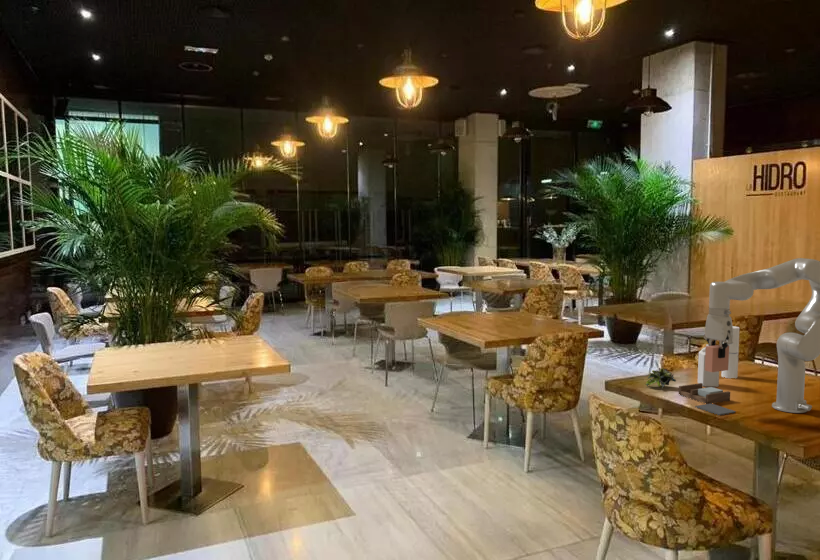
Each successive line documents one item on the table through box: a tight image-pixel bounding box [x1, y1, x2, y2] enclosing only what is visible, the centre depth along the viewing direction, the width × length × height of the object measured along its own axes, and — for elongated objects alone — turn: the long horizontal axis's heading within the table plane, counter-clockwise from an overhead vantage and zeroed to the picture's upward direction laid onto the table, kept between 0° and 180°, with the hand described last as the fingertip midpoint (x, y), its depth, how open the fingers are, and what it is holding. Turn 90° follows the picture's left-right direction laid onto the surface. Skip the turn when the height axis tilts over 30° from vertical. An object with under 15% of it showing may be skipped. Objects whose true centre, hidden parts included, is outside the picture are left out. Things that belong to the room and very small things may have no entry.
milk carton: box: [697, 343, 720, 388], centre depth 292 cm, size 7×7×19 cm
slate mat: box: [694, 403, 737, 416], centre depth 255 cm, size 12×9×1 cm
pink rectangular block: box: [705, 344, 729, 372], centre depth 253 cm, size 4×9×10 cm, turn 112°
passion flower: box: [645, 367, 677, 389], centre depth 289 cm, size 11×11×12 cm
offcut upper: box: [698, 386, 724, 397], centre depth 269 cm, size 6×8×2 cm
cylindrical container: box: [720, 325, 741, 379], centre depth 307 cm, size 7×7×25 cm
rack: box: [678, 382, 731, 404], centre depth 272 cm, size 16×13×4 cm
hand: (717, 356), depth 253 cm, fingers closed on pink rectangular block, 3 cm apart
